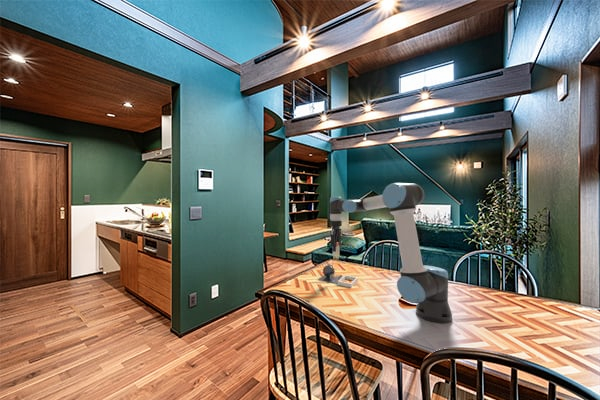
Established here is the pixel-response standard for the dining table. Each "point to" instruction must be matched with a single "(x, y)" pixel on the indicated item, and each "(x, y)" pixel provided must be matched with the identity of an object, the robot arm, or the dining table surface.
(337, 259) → the lock pin
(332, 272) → the pulley block
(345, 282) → the tray
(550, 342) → the dining table surface
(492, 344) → the dining table surface
